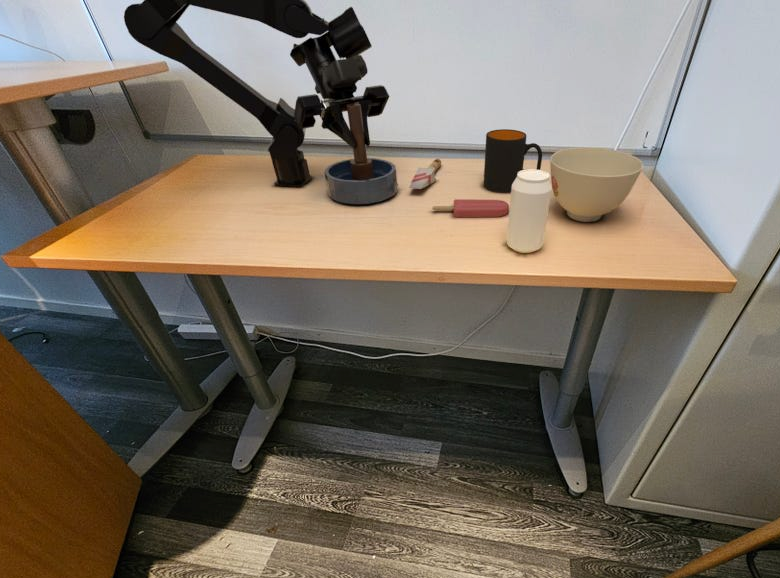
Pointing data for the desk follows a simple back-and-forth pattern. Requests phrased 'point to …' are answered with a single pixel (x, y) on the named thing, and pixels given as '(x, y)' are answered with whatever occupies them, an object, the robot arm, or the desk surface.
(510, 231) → the beverage can
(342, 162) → the blue grey round dish
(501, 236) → the desk surface
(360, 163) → the pestle
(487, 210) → the popsicle
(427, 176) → the paintbrush
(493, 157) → the mug
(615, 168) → the bowl
